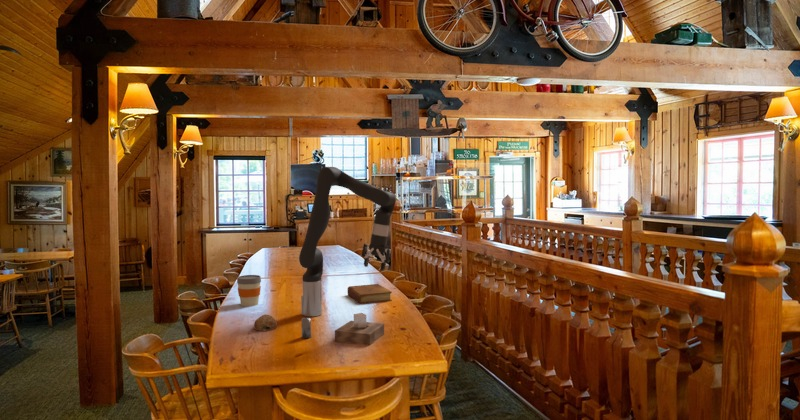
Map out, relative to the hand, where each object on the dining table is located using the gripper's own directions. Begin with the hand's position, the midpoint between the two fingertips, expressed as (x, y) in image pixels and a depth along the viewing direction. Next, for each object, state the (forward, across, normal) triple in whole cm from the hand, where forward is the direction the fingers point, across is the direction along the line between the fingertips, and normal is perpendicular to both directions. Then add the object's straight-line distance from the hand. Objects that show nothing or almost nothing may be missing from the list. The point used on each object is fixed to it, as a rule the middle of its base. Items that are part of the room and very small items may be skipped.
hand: (373, 268), depth 240 cm
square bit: (+27, +8, -17) cm, 33 cm away
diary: (+26, -25, +48) cm, 61 cm away
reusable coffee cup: (+37, -76, +8) cm, 85 cm away
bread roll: (+35, -38, -23) cm, 57 cm away
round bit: (+31, -13, -26) cm, 43 cm away
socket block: (+27, +8, -17) cm, 33 cm away
